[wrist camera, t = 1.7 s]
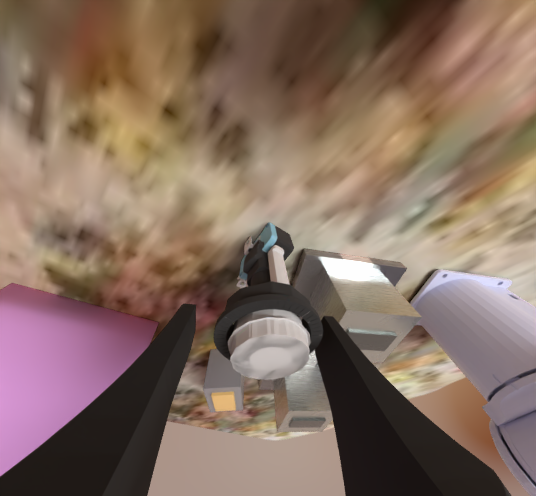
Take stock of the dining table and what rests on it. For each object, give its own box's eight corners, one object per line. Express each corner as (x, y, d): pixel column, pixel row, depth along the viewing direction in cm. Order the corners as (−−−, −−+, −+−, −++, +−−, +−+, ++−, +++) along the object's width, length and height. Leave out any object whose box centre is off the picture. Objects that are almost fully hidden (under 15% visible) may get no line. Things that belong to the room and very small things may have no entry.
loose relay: (242, 347, 25) (240, 389, 21) (244, 371, 28) (242, 413, 24) (211, 348, 25) (202, 392, 21) (216, 373, 28) (209, 415, 24)
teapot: (-99, 251, 16) (-1295, 654, 4) (202, 333, 23) (144, 553, 11) (-58, 352, 22) (-435, 617, 10) (167, 390, 29) (107, 569, 17)
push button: (262, 287, 20) (269, 406, 11) (214, 264, 18) (178, 386, 9) (304, 238, 17) (355, 345, 8) (252, 206, 15) (250, 300, 7)
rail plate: (400, 262, 19) (456, 312, 14) (320, 384, 31) (334, 436, 26) (303, 248, 18) (325, 299, 12) (258, 382, 29) (259, 437, 24)
